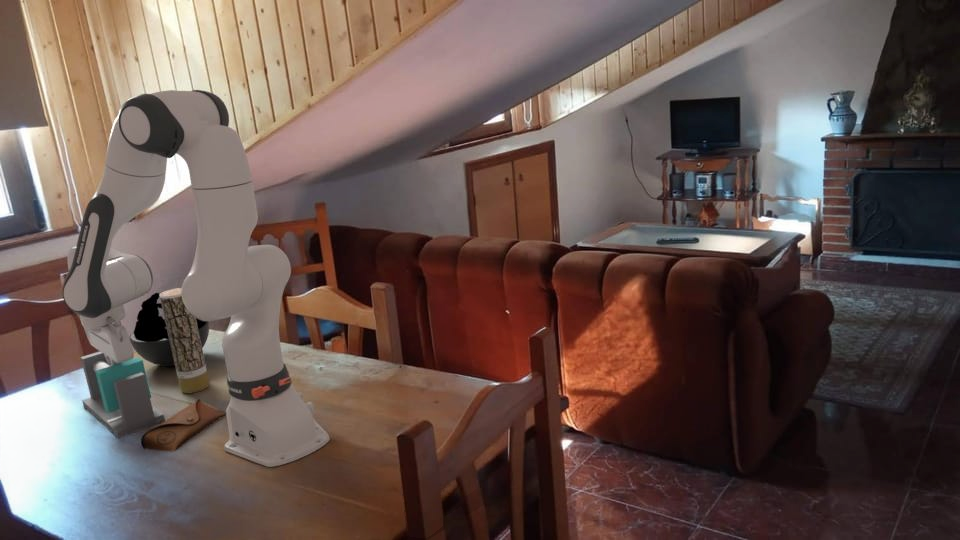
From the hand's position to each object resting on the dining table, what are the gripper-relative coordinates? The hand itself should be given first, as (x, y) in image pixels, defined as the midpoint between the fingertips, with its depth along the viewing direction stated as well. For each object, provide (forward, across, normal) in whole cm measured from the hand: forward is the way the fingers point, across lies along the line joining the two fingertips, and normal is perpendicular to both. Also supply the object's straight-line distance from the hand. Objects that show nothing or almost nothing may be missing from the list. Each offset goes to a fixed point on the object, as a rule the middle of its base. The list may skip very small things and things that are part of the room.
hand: (116, 371), depth 167 cm
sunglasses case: (+12, -19, -6) cm, 23 cm away
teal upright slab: (+7, -3, 0) cm, 8 cm away
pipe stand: (+11, +4, 0) cm, 12 cm away
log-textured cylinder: (+12, +2, -17) cm, 21 cm away
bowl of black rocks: (+12, +24, -21) cm, 34 cm away
